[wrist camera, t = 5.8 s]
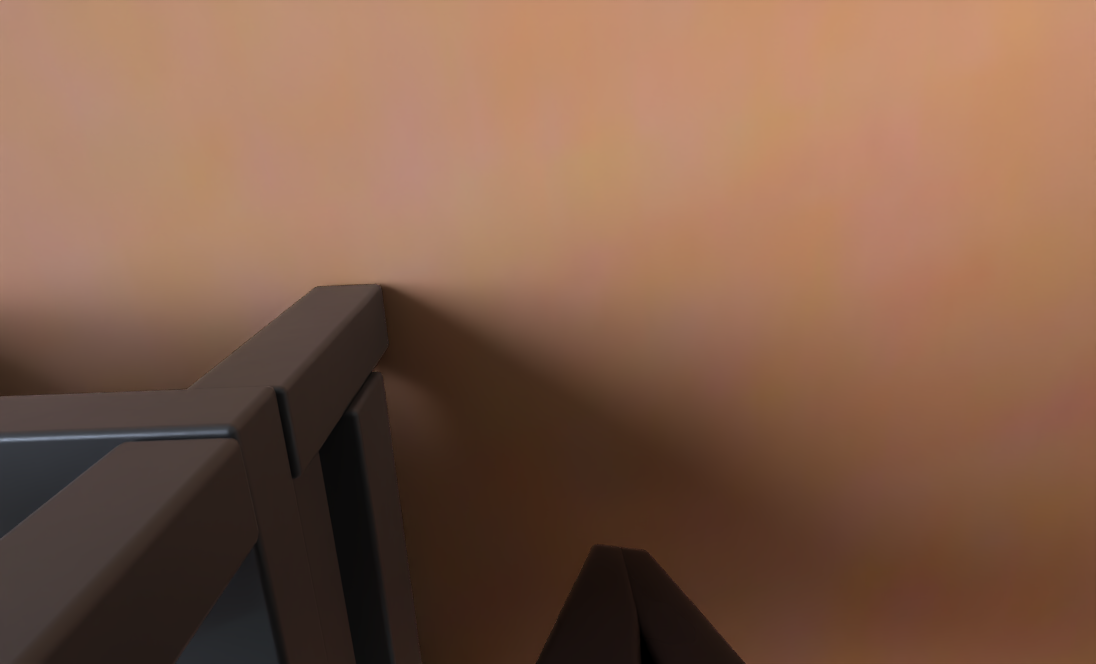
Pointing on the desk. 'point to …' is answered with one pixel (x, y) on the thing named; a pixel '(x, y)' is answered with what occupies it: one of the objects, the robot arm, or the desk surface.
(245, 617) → the chair
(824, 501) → the desk surface
